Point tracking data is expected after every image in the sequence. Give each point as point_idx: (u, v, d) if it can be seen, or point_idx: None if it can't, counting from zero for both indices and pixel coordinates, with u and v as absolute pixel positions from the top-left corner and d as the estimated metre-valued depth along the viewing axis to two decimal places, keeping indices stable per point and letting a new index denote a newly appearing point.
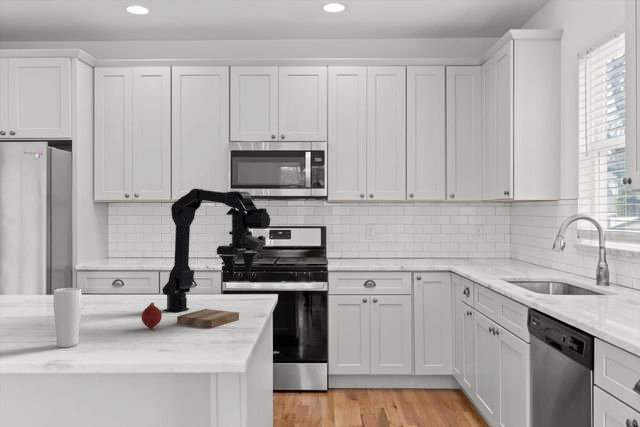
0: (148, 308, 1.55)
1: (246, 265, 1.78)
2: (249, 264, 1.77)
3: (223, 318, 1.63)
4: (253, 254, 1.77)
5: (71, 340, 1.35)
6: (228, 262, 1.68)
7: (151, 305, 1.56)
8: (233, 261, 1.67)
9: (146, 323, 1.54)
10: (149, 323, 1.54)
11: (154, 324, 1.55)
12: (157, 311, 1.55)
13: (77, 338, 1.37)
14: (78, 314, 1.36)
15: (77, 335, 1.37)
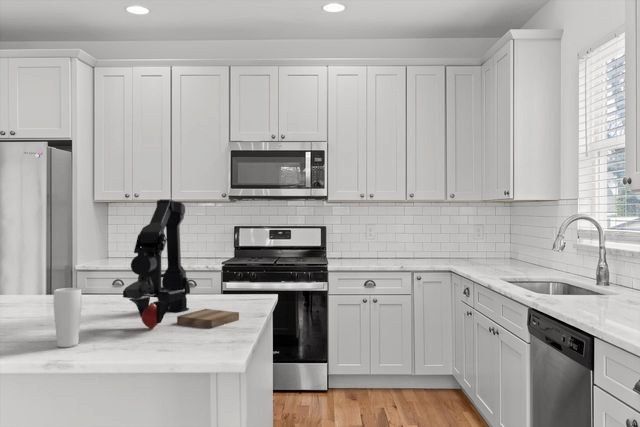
0: (148, 308, 1.55)
1: None
2: None
3: (223, 318, 1.63)
4: None
5: (71, 340, 1.35)
6: None
7: (151, 305, 1.56)
8: (137, 305, 1.57)
9: (146, 323, 1.54)
10: (149, 323, 1.54)
11: (154, 324, 1.55)
12: None
13: (77, 338, 1.37)
14: (78, 314, 1.36)
15: (77, 335, 1.37)
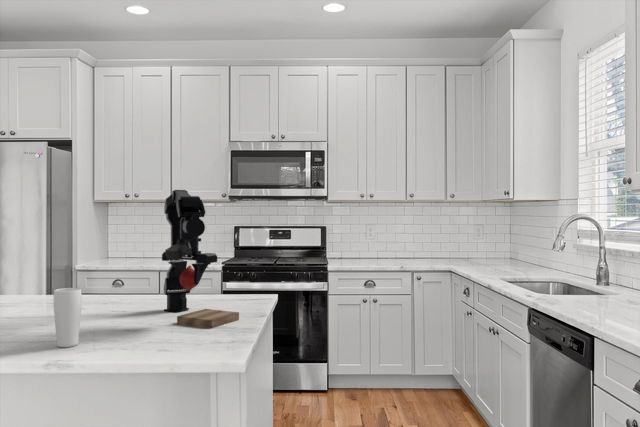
0: (186, 270, 1.62)
1: None
2: None
3: (223, 318, 1.63)
4: None
5: (71, 340, 1.35)
6: None
7: (189, 268, 1.63)
8: (175, 268, 1.64)
9: (184, 284, 1.61)
10: (187, 284, 1.61)
11: (192, 286, 1.62)
12: None
13: (77, 338, 1.37)
14: (78, 314, 1.36)
15: (77, 335, 1.37)
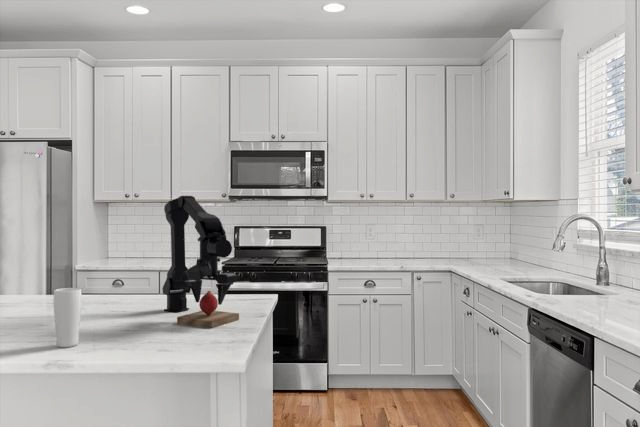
0: (206, 296, 1.65)
1: None
2: None
3: (223, 319, 1.63)
4: None
5: (71, 340, 1.35)
6: None
7: (208, 293, 1.66)
8: (191, 287, 1.68)
9: (204, 310, 1.64)
10: (207, 309, 1.64)
11: (211, 311, 1.65)
12: (214, 299, 1.66)
13: (77, 338, 1.37)
14: (78, 314, 1.36)
15: (77, 335, 1.37)
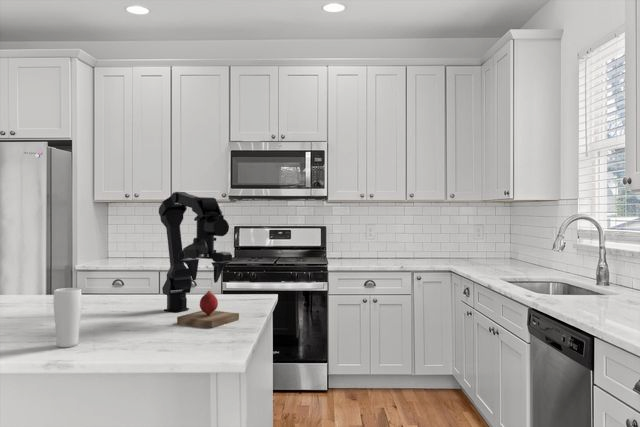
0: (206, 295, 1.65)
1: None
2: None
3: (223, 319, 1.63)
4: None
5: (71, 340, 1.35)
6: None
7: (209, 293, 1.66)
8: (188, 265, 1.72)
9: (205, 309, 1.64)
10: (208, 309, 1.64)
11: (212, 311, 1.65)
12: (214, 299, 1.66)
13: (77, 338, 1.37)
14: (78, 314, 1.36)
15: (77, 335, 1.37)
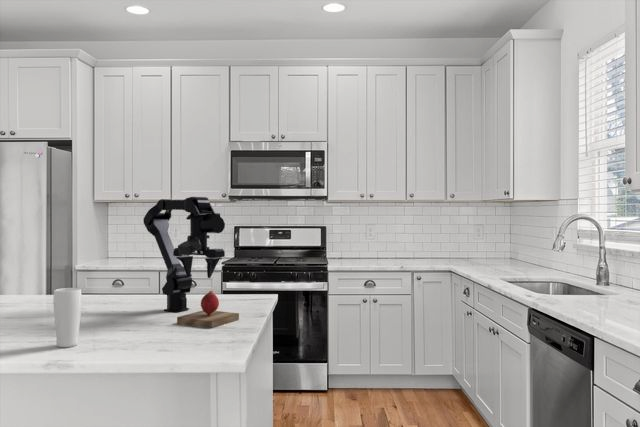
0: (209, 295, 1.65)
1: None
2: None
3: (223, 319, 1.63)
4: None
5: (71, 340, 1.35)
6: None
7: (211, 292, 1.66)
8: (183, 262, 1.80)
9: (206, 309, 1.64)
10: (209, 309, 1.64)
11: (213, 310, 1.66)
12: (216, 299, 1.66)
13: (77, 338, 1.37)
14: (78, 314, 1.36)
15: (77, 335, 1.37)
